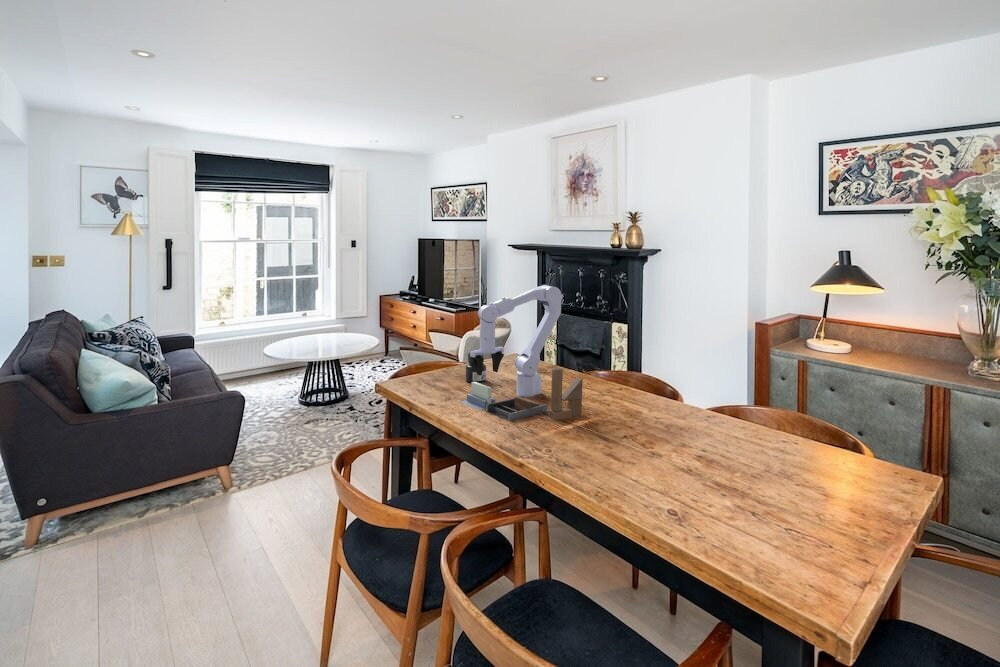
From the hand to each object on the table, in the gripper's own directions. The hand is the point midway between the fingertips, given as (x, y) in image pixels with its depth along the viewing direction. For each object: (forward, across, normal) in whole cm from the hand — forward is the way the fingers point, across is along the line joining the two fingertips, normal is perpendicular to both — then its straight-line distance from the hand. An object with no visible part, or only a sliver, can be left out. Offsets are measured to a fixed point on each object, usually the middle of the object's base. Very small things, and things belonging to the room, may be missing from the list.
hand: (487, 373), depth 200 cm
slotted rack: (+10, -2, -20) cm, 22 cm away
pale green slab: (+9, -6, -5) cm, 12 cm away
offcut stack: (+9, +2, -20) cm, 22 cm away
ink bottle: (+11, +13, +24) cm, 29 cm away
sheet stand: (+10, -7, -4) cm, 13 cm away
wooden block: (+11, +7, -34) cm, 36 cm away
